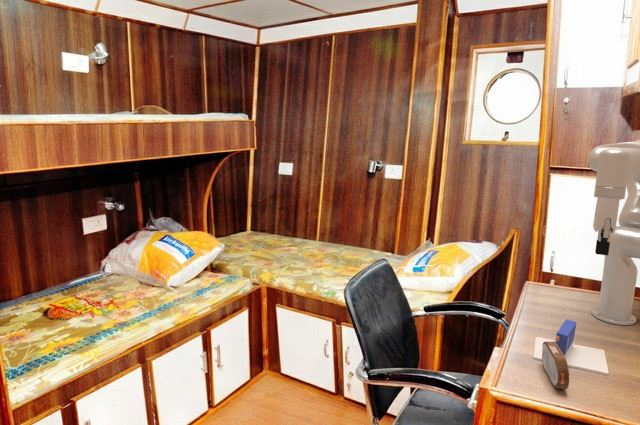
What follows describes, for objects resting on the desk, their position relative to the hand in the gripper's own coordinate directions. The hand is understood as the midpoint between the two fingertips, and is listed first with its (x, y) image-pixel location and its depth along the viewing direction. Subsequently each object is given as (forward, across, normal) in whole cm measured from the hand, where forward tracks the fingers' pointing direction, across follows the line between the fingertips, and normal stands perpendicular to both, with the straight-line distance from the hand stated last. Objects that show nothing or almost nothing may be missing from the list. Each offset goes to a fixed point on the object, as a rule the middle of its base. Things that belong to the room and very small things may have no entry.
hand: (601, 253), depth 134 cm
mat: (+27, +14, -6) cm, 31 cm away
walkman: (+22, +9, -6) cm, 25 cm away
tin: (+27, +30, -10) cm, 42 cm away
